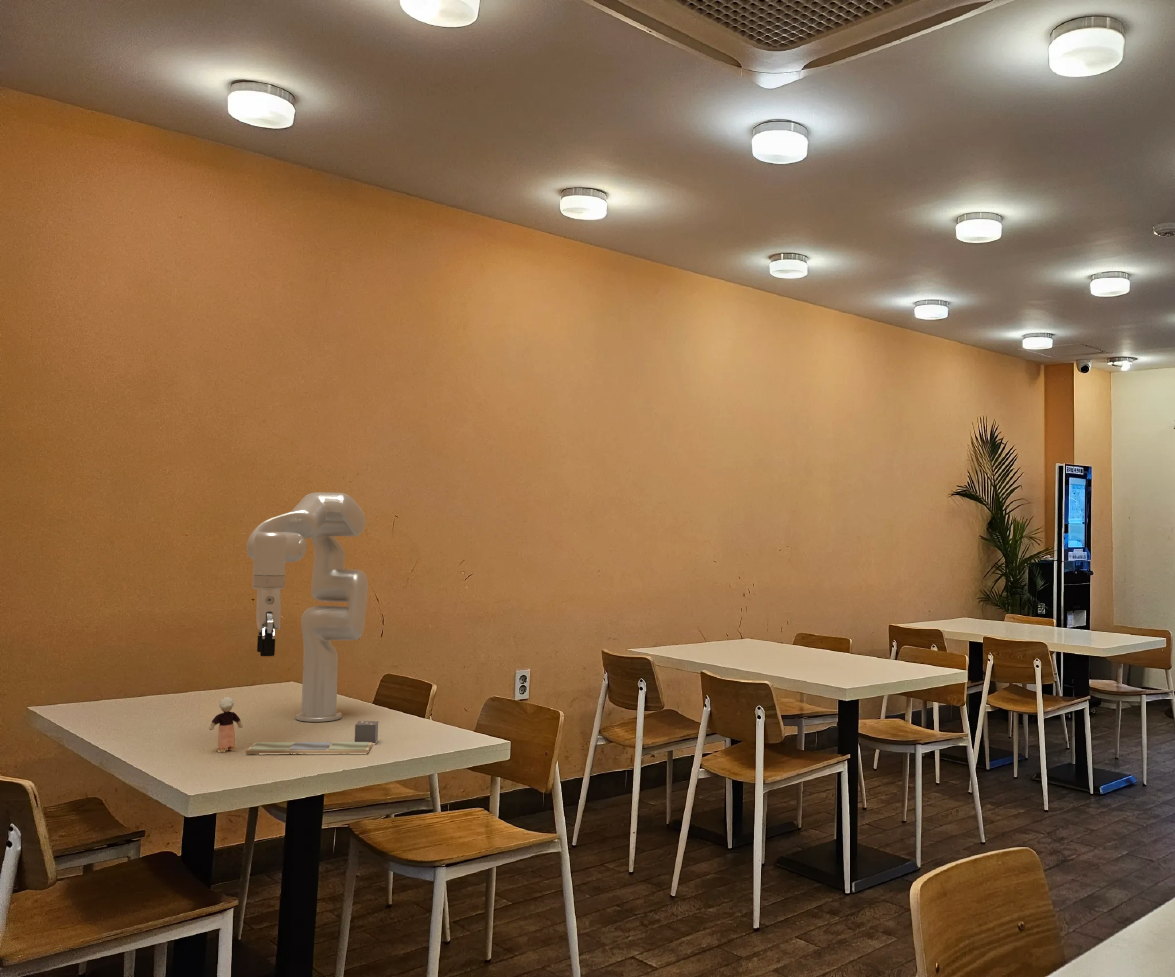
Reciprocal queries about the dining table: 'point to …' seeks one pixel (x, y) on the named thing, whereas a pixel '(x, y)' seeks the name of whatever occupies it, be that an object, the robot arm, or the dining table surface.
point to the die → (366, 731)
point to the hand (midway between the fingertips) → (265, 653)
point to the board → (309, 747)
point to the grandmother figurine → (226, 725)
